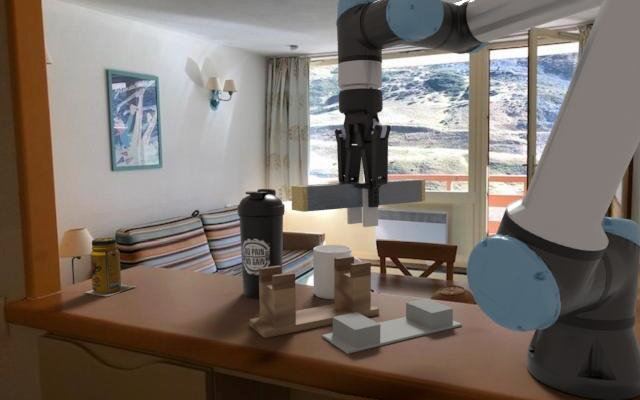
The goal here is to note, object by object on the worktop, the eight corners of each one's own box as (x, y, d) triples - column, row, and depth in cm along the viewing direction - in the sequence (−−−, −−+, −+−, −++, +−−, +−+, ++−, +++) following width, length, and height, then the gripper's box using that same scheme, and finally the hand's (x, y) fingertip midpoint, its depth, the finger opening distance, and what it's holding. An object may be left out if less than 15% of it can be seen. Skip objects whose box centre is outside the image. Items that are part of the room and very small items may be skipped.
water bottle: (231, 298, 110) (228, 191, 107) (251, 285, 119) (249, 187, 117) (275, 302, 107) (273, 192, 104) (292, 288, 116) (290, 188, 114)
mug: (372, 294, 112) (373, 248, 111) (357, 304, 105) (357, 255, 104) (324, 287, 118) (324, 243, 116) (306, 296, 110) (306, 250, 109)
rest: (461, 325, 92) (462, 307, 92) (347, 353, 80) (347, 332, 80) (431, 313, 99) (432, 296, 99) (322, 337, 87) (322, 317, 87)
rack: (379, 314, 99) (379, 261, 97) (264, 338, 87) (263, 278, 86) (359, 304, 105) (359, 254, 103) (249, 325, 93) (248, 269, 92)
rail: (410, 200, 97) (410, 179, 97) (425, 201, 94) (425, 179, 94) (291, 209, 84) (291, 185, 84) (303, 211, 81) (302, 186, 81)
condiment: (83, 293, 114) (80, 240, 113) (114, 283, 122) (112, 234, 120) (106, 297, 111) (103, 243, 110) (136, 287, 118) (134, 236, 117)
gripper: (410, 84, 82) (411, 228, 84) (350, 96, 97) (352, 218, 99) (372, 81, 78) (374, 232, 80) (316, 94, 93) (319, 221, 95)
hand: (362, 224), depth 89 cm, fingers closed on rail, 4 cm apart
